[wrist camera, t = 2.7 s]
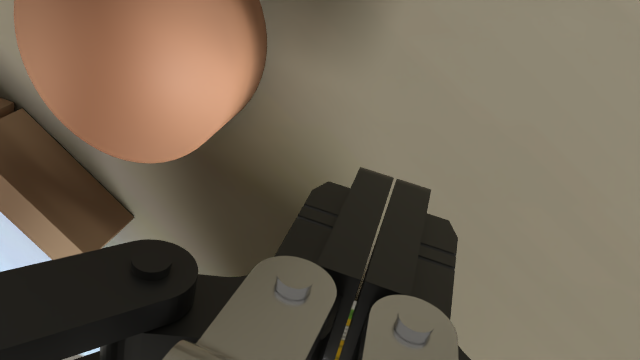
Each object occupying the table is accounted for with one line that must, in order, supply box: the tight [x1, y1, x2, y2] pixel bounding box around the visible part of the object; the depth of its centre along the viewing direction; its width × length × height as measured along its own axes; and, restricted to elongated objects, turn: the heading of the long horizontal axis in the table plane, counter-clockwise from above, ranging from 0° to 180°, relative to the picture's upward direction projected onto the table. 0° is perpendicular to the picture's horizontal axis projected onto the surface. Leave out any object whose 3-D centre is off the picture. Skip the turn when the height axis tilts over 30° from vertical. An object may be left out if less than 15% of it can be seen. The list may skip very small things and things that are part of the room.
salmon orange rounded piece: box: [14, 0, 267, 163], centre depth 16 cm, size 6×6×2 cm
